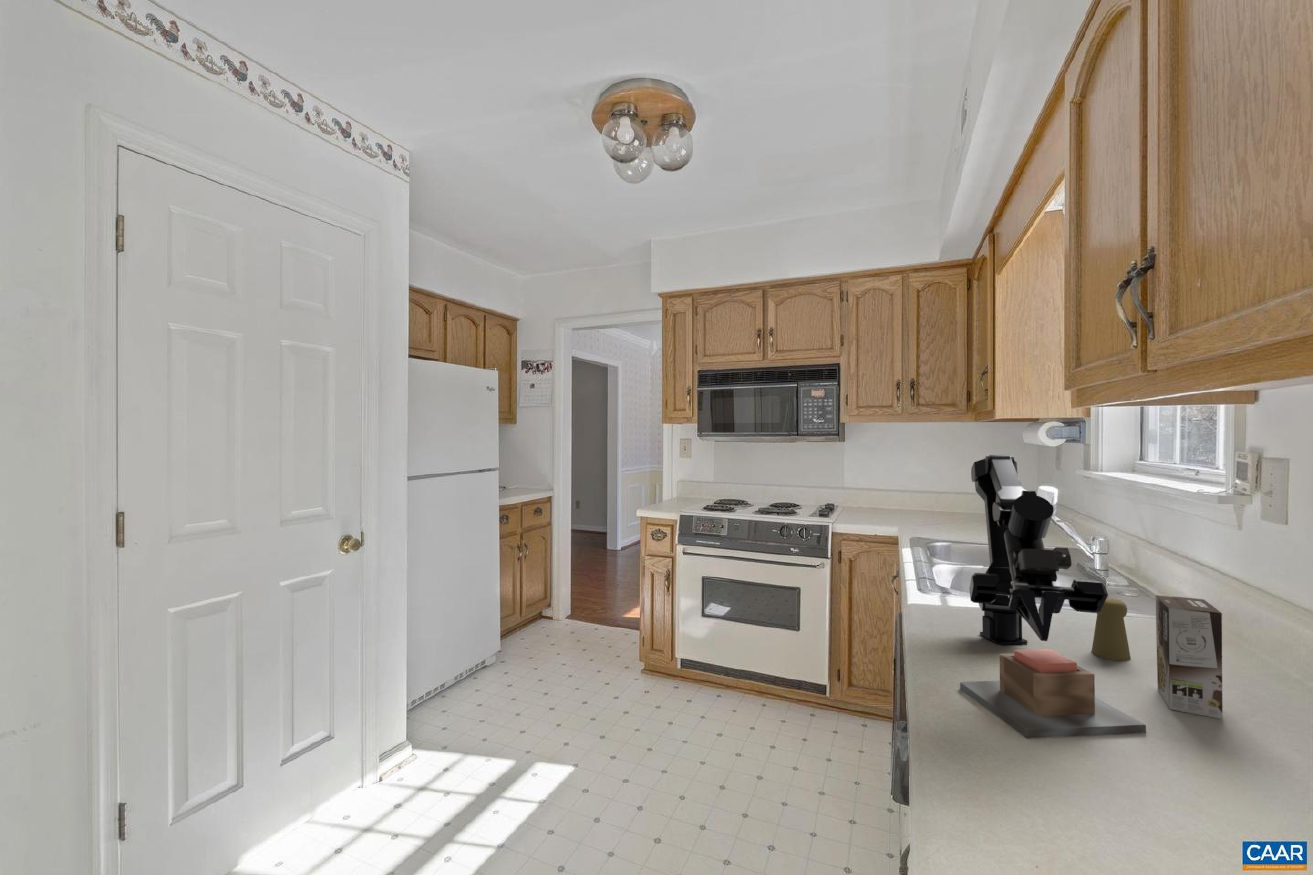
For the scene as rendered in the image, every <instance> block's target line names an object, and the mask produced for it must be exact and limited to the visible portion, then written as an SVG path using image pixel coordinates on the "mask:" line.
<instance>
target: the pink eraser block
mask: <svg viewBox="0 0 1313 875" xmlns="http://www.w3.org/2000/svg"><path fill="white" fill-rule="evenodd" d="M1013 653H1014V659H1016V660H1018V661H1020V662H1021V663H1023V664H1025V665H1027V666H1029V667H1030V668H1032V669H1034V670H1036V671H1038V672H1039V673H1051V672H1077V666H1078V663H1077V662H1076V661H1074V660H1072V659H1070V658H1068V657H1066V656H1064V655H1062V654H1060V653H1058V652H1056V651H1053V650H1052V649H1050V648H1035V649H1034V648H1031V649H1028V648H1027V649H1014V652H1013Z"/></svg>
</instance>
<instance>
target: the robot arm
mask: <svg viewBox="0 0 1313 875" xmlns="http://www.w3.org/2000/svg"><path fill="white" fill-rule="evenodd" d="M970 475H971V476H970V477H971V483H973V482H974V487H975V489H974V490H975V492H976V493H977V494H978V496H979V497H980V498H981V499H982V500H983V502H984V511H985V523H986V534H987V546H988V556H989V566H988V568H987V569H986V571H985V573H984V572H983V573H982V572H974V573H973V574H972V575H971V579H970V583H969V584H970V585H969V598H970V602H972V603H973V604H974V603H976V604H978V607H979V608H980V610H981V611H982V612H983V615H982V621H981V622H982V623H981V625H982V631H979V635H981V636H982V637H984V638H986V639H988V640H990V641H991V642H994V643H995V644H997V645H1021V644H1028V642H1029V641H1028V640H1027V639H1025V638H1023V619H1024V621H1025V622H1026V623H1027V624H1028V625H1029V626H1030V628H1031V630H1032V631H1033V632H1034V633H1035V635H1036V636H1037V637H1038V639H1039V640H1040V641H1041V642H1042V641H1043V642H1047V641H1048V640H1049V635H1050V629H1051V624H1052V618H1053V614H1059V613H1061V611H1062V609H1063V606H1064V603H1065V601H1066V600H1067V601H1068V604H1069V607H1070V608H1071V609H1073V610H1074V611H1076V612H1083V613H1094V614H1095V613H1096V612H1100V611H1101V609H1102V607H1103V605H1104V603H1105V601H1106V598H1107V597H1108V596H1109V593H1108V591H1107V587H1106V585H1105V584H1104V583H1102V582H1101V581H1099V580H1091V579H1090V580H1089V579H1074V578H1073V581H1072V583H1071V585H1070V586H1071V587H1070V586H1057V585H1054V583H1053V582H1057V580H1058V576H1057V572H1059V571H1060V570H1069V569H1070V568H1071V567H1072V564H1073V563H1072V557H1071V552H1070V550H1069V548H1068V547H1057V546H1055V547H1054V548H1053V549H1045V545H1044V540H1043V539H1044V538H1046V537H1047V534H1048V531H1049V529H1050V528H1049V527H1050V524H1051V520H1052V519H1053V515H1054V511H1055V510H1054V506H1053V505H1054V504H1052V503H1051V502H1049V501H1048V500H1047V499H1046V498H1044V497H1042V496H1039V495H1037V492H1036V490H1027V489H1024V487H1023V484H1022V482H1021V480H1020V477H1019V475H1018V462H1017V461H1015V458H1014V455H1010V454H989V455H986V456H985V457H984V458H983V459H982V458H981V459H980V460H979V459H978V460H976V461H974V462H973V464H972V466H971V469H970ZM1037 598H1038V599H1039V600H1040V604H1039V608H1038V607H1037V604H1036V599H1037ZM1096 614H1097V613H1096Z"/></svg>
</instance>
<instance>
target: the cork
mask: <svg viewBox="0 0 1313 875" xmlns="http://www.w3.org/2000/svg"><path fill="white" fill-rule="evenodd" d="M1127 615H1128V608H1127V604H1126V603H1125V602H1124V601H1122V600H1121V599H1117V598H1114V597H1108V596H1107V598H1106V601H1105V603H1104V605H1103V607H1102V609H1101V611H1100V612H1096V620H1095V626H1094V631H1093V633H1094V634H1093V640H1092V647H1091V653H1092V655H1095V656H1096V657H1100V658H1103V659H1106V660H1111V661H1121V662H1127V661H1130V660H1131V658H1132V657H1131V652H1130V648H1129V646H1130V645H1129V642H1128V635H1127V631H1126V630H1127V629H1126V624H1125V619H1124V618H1125V617H1126V616H1127Z"/></svg>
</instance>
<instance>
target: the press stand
mask: <svg viewBox="0 0 1313 875" xmlns="http://www.w3.org/2000/svg"><path fill="white" fill-rule="evenodd" d="M998 656H999V680H983V681H981V680H979V681H978V680H977V681H960V682H959V690H961V691H962V692H964V693H965V694H966V695H967V696H969V697H970V698H971V699H973V700H974V701H976V702H977V703H978V704H979V705H981V706H983V708H985V709H986V710H988V711H989V712H990V713H992V714H993V715H995V716H996V717H997V718H998V719H999V720H1001V721H1003V722H1004V723H1005V724H1007V725H1008V726H1010V727H1011V728H1012V729H1013V730H1015V731H1016V732H1017V733H1019V734H1020V735H1021V736H1023V737H1024V738H1026V739H1039V738H1040V739H1041V738H1042V739H1043V738H1045V739H1046V738H1061V737H1066V738H1067V737H1082V736H1083V737H1085V736H1086V737H1088V736H1089V737H1090V736H1105V735H1106V736H1109V735H1110V736H1111V735H1130V734H1131V735H1132V734H1133V735H1134V734H1146V733H1147V724H1146V723H1144V722H1141V721H1140V720H1139V719H1136V718H1134V717H1132V716H1131V715H1129V714H1127V713H1125V712H1123V711H1122V710H1120V709H1118V708H1117V707H1114V706H1112V705H1111V704H1109V703H1107V702H1105V701H1104V700H1101V699H1100V698H1098V697H1096V696H1095V695H1096V693H1095V686H1096V685H1095V682H1096V681H1095V673H1093V672H1092V671H1090V670H1087V669H1085V668H1083V667H1081V666H1079V665H1077V672H1051V673H1039V672H1038V671H1036V670H1034V669H1032V668H1030V667H1029V666H1027V665H1025V664H1023V663H1021V662H1020V661H1018V660H1016V659H1014V652H1013V653H999V655H998Z"/></svg>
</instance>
